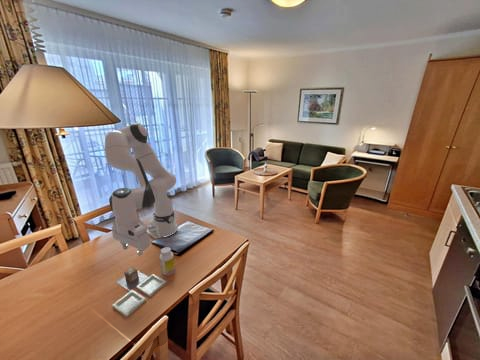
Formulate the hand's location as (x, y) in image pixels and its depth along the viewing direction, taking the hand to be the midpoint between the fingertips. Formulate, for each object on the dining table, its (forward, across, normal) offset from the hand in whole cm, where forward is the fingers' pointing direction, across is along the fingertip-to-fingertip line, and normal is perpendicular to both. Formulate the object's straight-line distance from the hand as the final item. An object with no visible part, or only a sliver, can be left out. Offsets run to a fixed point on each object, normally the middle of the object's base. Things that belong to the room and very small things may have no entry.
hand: (132, 251), depth 97 cm
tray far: (+16, +8, -11) cm, 21 cm away
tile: (+17, -2, -1) cm, 17 cm away
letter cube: (+16, -2, -1) cm, 16 cm away
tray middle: (+16, +9, 0) cm, 19 cm away
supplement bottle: (+17, +9, +11) cm, 22 cm away
